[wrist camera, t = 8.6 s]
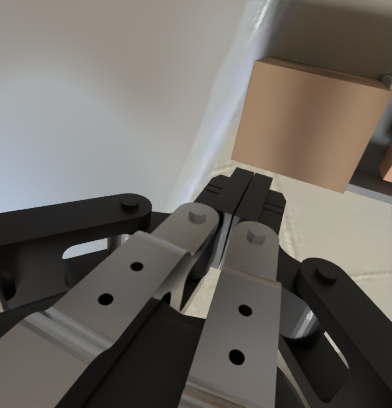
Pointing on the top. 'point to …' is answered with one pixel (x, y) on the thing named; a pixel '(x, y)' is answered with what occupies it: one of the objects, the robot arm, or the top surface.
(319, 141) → the brown block
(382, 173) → the tile
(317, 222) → the top surface
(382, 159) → the tile
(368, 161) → the tray
